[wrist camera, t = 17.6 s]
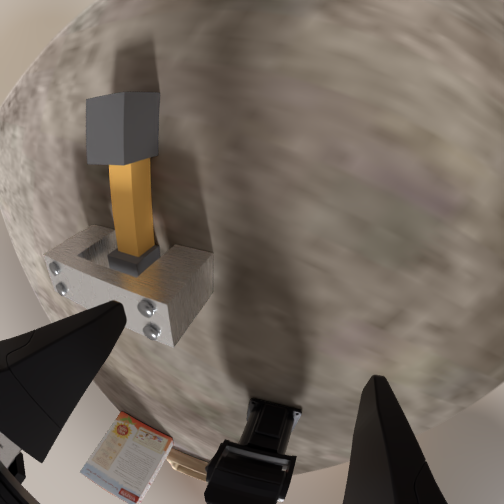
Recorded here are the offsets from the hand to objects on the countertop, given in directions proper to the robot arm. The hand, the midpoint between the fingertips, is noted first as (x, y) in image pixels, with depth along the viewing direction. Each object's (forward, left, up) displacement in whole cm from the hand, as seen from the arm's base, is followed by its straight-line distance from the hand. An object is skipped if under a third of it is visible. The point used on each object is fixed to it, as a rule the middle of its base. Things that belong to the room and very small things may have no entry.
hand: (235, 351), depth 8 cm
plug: (+1, +13, -12) cm, 18 cm away
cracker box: (-56, +24, -12) cm, 62 cm away
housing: (-6, +13, -12) cm, 19 cm away
